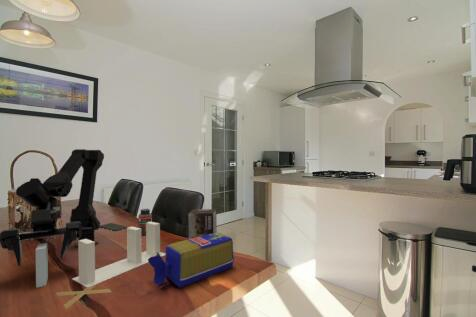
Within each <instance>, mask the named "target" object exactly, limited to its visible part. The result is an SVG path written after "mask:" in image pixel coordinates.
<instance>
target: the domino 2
mask: <svg viewBox="0 0 476 317" xmlns="http://www.w3.org/2000/svg"><path fill="white" fill-rule="evenodd" d="M77 243H78V249H77V250H78V276H79V279H80V280H81V281H83V282H85V283H87V284H89V283H91V282H94V281H95V270H96V252H95V251H96V250H95V249H96V246H95V245H96V244H95V242H94V241H91V240H88V239H83V240H79V241H78V240H77Z"/></svg>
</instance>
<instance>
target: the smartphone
mask: <svg viewBox="0 0 476 317" xmlns="http://www.w3.org/2000/svg"><path fill="white" fill-rule="evenodd" d="M128 227H129V226H126V225H123V224H122V225H121V224H117V223H113V222H109V223H106V224H100V228H99V229H103V228H104V229H103V230H107V229H108V230H107V231H111V230H112V232H118V231H122V229H123V230H125V229H126V228H128ZM126 230H127V229H126Z"/></svg>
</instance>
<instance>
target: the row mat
mask: <svg viewBox="0 0 476 317" xmlns="http://www.w3.org/2000/svg"><path fill="white" fill-rule="evenodd" d="M160 256H161V257H162V258H163V257H164V256H166V252H161V251H160ZM150 257H153V255H150V254H147V253H146V250H145V251H142V262H140V263H138V264H135V263H132V262H130V261H127V257H126V258H124V259H121V260H118V261H115V262H113V263H110V264H108V265H105V266H102V267H100V268H95V281H94V282H91V283H89V284H87V283H85V282H83V281H81V280H80V279H79V275H78V276H76V277H75V276H74V277H73V278H71V280H73V281H74V282H76V283H78V284H80V285H82V286H84V287H85V288H90V287H92V286H95V285H97V284H100V283H102V282H104V281H107V280H109V279H111V278H114V277H116V276H118V275H122V274H123V273H126V272H129V271H130V270H133V269H136V268H138V267H140V266H143V265H145V264H148V263H149V261H148V259H149V258H150Z"/></svg>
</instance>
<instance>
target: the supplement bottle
mask: <svg viewBox="0 0 476 317" xmlns="http://www.w3.org/2000/svg"><path fill="white" fill-rule="evenodd" d="M137 219H138V220H137V221H138V222H137V223H138V224H137V226H138V227H137V228H141V236H146V223H147V222H153V214H152V213H151V209H150V208H141V209H140V214H138V218H137Z"/></svg>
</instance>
